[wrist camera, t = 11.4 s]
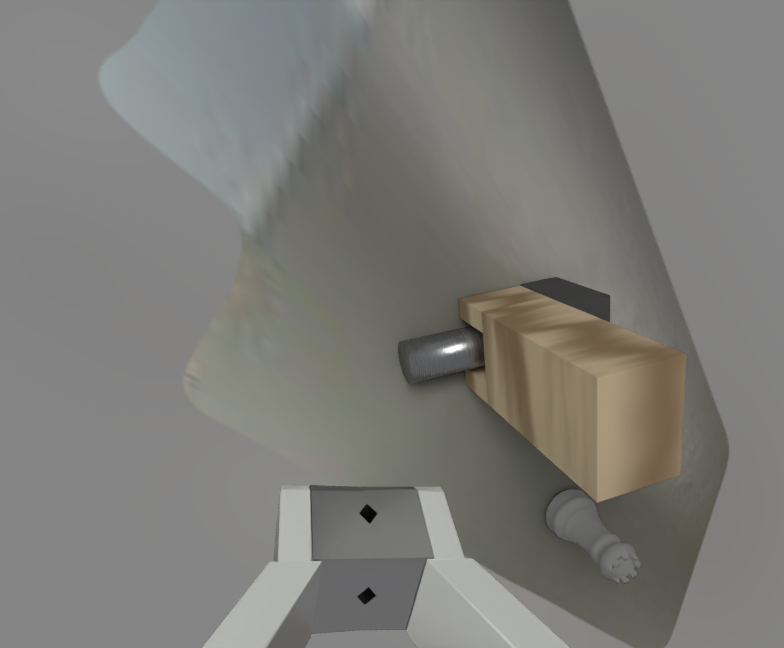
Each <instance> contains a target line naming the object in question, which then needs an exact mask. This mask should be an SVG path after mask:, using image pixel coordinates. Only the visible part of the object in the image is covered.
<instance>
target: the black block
mask: <svg viewBox="0 0 784 648" xmlns="http://www.w3.org/2000/svg"><path fill="white" fill-rule="evenodd" d="M521 286H522V287H525V288H527V289H530V290H532V291H535V292H537V293H539V294H542V295H544V296H547V297H549V298H552V299H554V300H556V301H559V302H561V303H564V304H566V305H569V306H571V307H574V308H576V309H578V310H581V311H583V312H586V313H588V314H591V315H593V316H595V317H598V318H600V319H603V320H605V321H608V322H610V295H607V294H604V293H601V292H598V291H595V290H592V289H589V288H587V287H584V286H581V285H578V284H575V283H572V282H569V281H566V280H563V279H560V278H557V277H554V278H549V279H544V280H540V281H535V282H530V283H525V284H521Z"/></svg>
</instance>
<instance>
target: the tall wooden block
mask: <svg viewBox="0 0 784 648" xmlns="http://www.w3.org/2000/svg"><path fill="white" fill-rule="evenodd" d="M459 310H460V319H462V320H464V321H465V322H467V323H468V324H470V325H471V326H473V327H474V328H476V329H477V330H479V331H480V332H482V333H483V343H484V357H485V366H481V367H477V368H473V369H469V370H465V380H466V385H467V386H468V387H469V388H470V389H472V390H473V391H474V392H475V393H476V394H477V395H478V396H479V397H480V398H482V399H483V400H484V401H485V402H486V403H487V404H488V405H489V406H491V407H492V408H493V409H494V410H495V411H496V412H497V413H498V414H499V415H501V416H502V417H503V418H504V419H505V420H506V421H507V422H508V423H509V424H511V425H512V426H513V427H514V428H515V429H516V430H517V431H518V432H519V433H521V434H522V435H523V436H524V437H525V438H526V439H527V440H528V441H529V442H531V443H532V444H533V445H534V446H535V447H536V448H537V449H538V450H539V451H541V452H542V453H543V454H544V455H545V456H546V457H547V458H548V459H549V460H551V461H552V462H553V463H554V464H555V465H556V466H557V467H558V468H559V469H561V470H562V471H563V472H564V473H565V474H566V475H567V476H568V477H569V478H571V479H572V480H573V481H574V482H575V483H576V484H577V485H578V486H579V487H581V488H582V489H583V490H584V491H585V492H586V493H587V494H588V495H589V496H591V497H592V498H593V499H594V500H595V501H596V502H597V503H598V502H601V501H604V500H607V499H610V498H613V497H616V496H619V495H622V494H625V493H628V492H631V491H634V490H638V489H641V488H644V487H647V486H650V485H653V484H656V483H659V482H662V481H665V480H668V479H671V478H674V477H677V476H680V472H681V454H682V436H683V418H684V400H685V382H686V364H687V354H685V353H683V352H680V351H678V350H676V349H673V348H671V347H668V346H666V345H663V344H661V343H659V342H656V341H654V340H651V339H649V338H646V337H644V336H642V335H639V334H637V333H634V332H632V331H629V330H627V329H625V328H622V327H620V326H617V325H615V324H612V323H610V322H608V321H605V320H603V319H600V318H598V317H595V316H593V315H591V314H588V313H586V312H583V311H581V310H578V309H576V308H574V307H571V306H569V305H566V304H564V303H561V302H559V301H556V300H554V299H552V298H549V297H547V296H544V295H542V294H539V293H537V292H535V291H532V290H530V289H527V288H525V287H522V286H517V287H512V288H507V289H503V290H498V291H493V292H488V293H483V294H479V295H474V296H469V297H464V298H459Z"/></svg>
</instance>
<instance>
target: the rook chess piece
mask: <svg viewBox="0 0 784 648" xmlns="http://www.w3.org/2000/svg"><path fill="white" fill-rule="evenodd" d="M546 523H547V525H548V527H549V529H550V530H552V531H553V532H555V534H556V535H557V536H558V537H560V538H562V539H563V540H565V541H570V542H572V543H577V544H578V545H579V546H581V547H582V548H583V549H584V550H586V551H587V552H588V553H589V554H590V557H591V559H592V561H593V562H594V563H596V564H600V572H601V574H602V576H603V577H604V578H606V579H608V580H613V581H614V582H616V583H617V584H619V583H620V581H621V582H622V583H623V584H626V583H629V579H628V578H627V576H629V575H631V576H632V577H633V578H635V577H636V576H637V575H638V573H637V572H636V571H635V570H634V569H635V567H636V568H641V562H640V561H638V559H639V558H638V557H637V556H636V551H635V549H634V547H633V546H632V545H630V544H626V543H621V542H620V539H619V537H618V536H617V535H615V534H611V533H610V532H609V531H608V530H607V528H606V527H605V526H604V525H603V523H602V522H601V521H600V519H599V515H598V513H597V508H596V506H595V504H594V503H593V501H592V500H591V499H590V498H588V496H587V494H586V493H584V492H583V491H581V490H575V489H569V490H565V491H562V492H560V493H559V494H557V495H556V496H554V498H553V499H552V500H551V502H550V503H549V505H548V508H547V510H546Z"/></svg>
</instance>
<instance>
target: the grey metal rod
mask: <svg viewBox="0 0 784 648" xmlns="http://www.w3.org/2000/svg"><path fill="white" fill-rule="evenodd" d="M398 353H399V360H400V365H401V369H402V372H403V374H404V377H405V379H406V381H407V382H408V383H409V384H411V383H415V382H419V381H423V380H428V379H432V378H436V377H440V376H444V375H448V374H452V373H456V372H460V371H464V370H469V369H473V368H477V367H481V366H485V357H484V343H483V333H482V332H480V331H479V330H477V329H476V328H474V327H473V326H469V327H464V328H460V329H455V330H451V331H446V332H442V333H437V334H433V335H428V336H424V337H419V338H415V339H410V340H406V341H401V342H400V343H399V346H398Z"/></svg>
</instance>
